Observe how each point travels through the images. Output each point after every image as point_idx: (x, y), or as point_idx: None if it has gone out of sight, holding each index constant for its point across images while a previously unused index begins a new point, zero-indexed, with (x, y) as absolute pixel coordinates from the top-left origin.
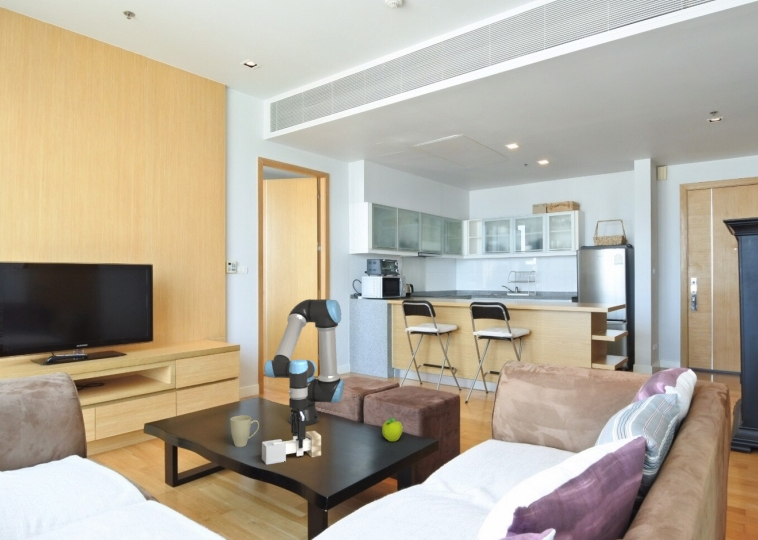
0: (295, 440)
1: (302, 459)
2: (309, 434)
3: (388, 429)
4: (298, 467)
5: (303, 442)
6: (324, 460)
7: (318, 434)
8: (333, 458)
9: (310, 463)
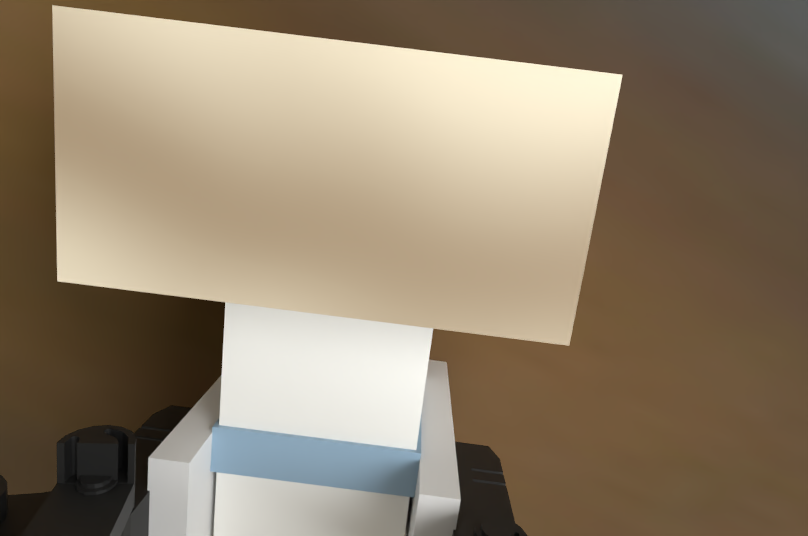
0: (263, 530)
1: (495, 383)
2: (314, 295)
3: None
4: (701, 528)
5: (419, 433)
6: (718, 161)
7: (454, 76)
8: (741, 5)
9: (685, 364)
